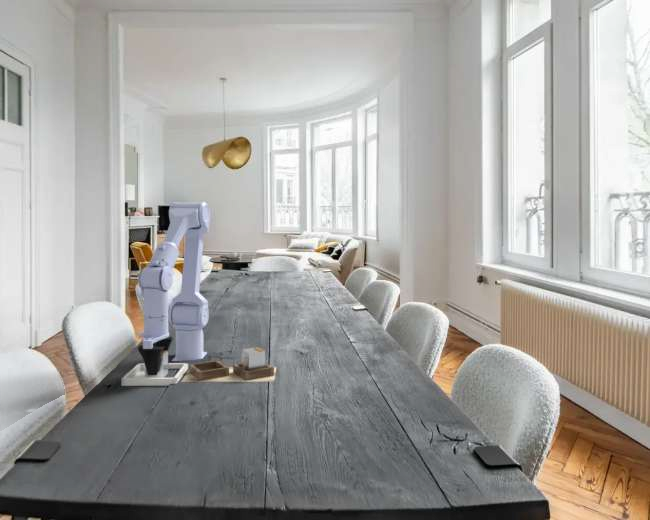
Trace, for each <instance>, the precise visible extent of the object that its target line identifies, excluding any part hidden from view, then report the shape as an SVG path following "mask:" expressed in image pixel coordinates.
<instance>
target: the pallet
mask: <svg viewBox="0 0 650 520" xmlns="http://www.w3.org/2000/svg"><path fill="white" fill-rule="evenodd" d="M276 373H277V366H272V365H270V364H268V363H267V362H265V368H262V369H256V370H250V371H246V370H245V369H243V368H242V362H241V363H233V364H232V366H227V364H224V363H223V362H221V361H220V360H217V359H216V360H211V361H202V362H198V363H197V362H196V363H191V364H189V363H188V370H187V373H186V374H185V375H184V377H183V378H182V380H181V382H180V383H246V382H247V383H249V382H250V383H252V382H253V383H254V382H255V383H259V382H260V383H261V382H262V383H266V382H267V383H270V382H271V383H273V382H274V383H275V379H276Z"/></svg>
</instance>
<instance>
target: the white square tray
mask: <svg viewBox="0 0 650 520" xmlns="http://www.w3.org/2000/svg"><path fill="white" fill-rule="evenodd" d="M168 370H178V371H177V373H176V374H175V375H174V376H173V377H164V378H145V363H142V362H138V364H136V365H135V366H134V367H132V369H130V370H129V371H128V372H127V373H126V374H125V375H124V376H122V378H121V379H120V380H121V386H122V387H123V386H125V387H129V386H130V387H133V386H146V387H147V386H148V387H149V386H150V387H151V386H152V387H154V386H159V387H160V386H170V387H171V385H177V384H178V382H179V381H180V380H181V378H182V377H183V376H184V374H185V373H186V372H187V371H188V370H189V362H186V363H185V362H181V363H180V362H179V363H177V362H172V363H171V362H168Z"/></svg>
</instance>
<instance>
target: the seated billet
mask: <svg viewBox="0 0 650 520" xmlns="http://www.w3.org/2000/svg"><path fill="white" fill-rule="evenodd" d="M241 363H242V368H243V369H245V370H246V371H250V370H256V369H262V368H265V363H266V350H264V349H262V348H261V347H257V346H256V347H250V348H249V347H248V348H242V349H241Z"/></svg>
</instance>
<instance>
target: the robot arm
mask: <svg viewBox="0 0 650 520" xmlns="http://www.w3.org/2000/svg"><path fill="white" fill-rule="evenodd" d="M168 218H169V226H168V227H167V228H168V229H167V231H166V234H165V238H164V241H163V242H160V243H158V244H157V245H156V247H155V250H154V252H153V254H152V257H151V258H150V261H148V265H147V266H145V267H143V268H141V269H140V271H139V274H138V278H137V285H138V287H139V290H140V297H141V298H142V299H143V300H142V302H143V303H142V304H143V305H142V306H143V307H142V308H143V315H142V316H143V332H140V333H138V338H143V340H142V345H139V346H138V349H137V351H138V352H139V354H140V355H141V358H142V359H143V362H144V363H145V367H146V370H147V374H148V375H157V373H158V369H159V361H160V356H161V353H162V351H163V350H166V351H168V352H169V350H170V347H171V344H172V342H173V340H174V337H173V336H170V332H169V324H170V325H171V326H173V327H172V328H173V329H175V356H174V358H172V360H171V362H185V361H187V362H188V361H193V360H194V361H195V360H199V359H200V360H201V359H204V357H205V356H206V355H207V354H208V352H207V351H204V331H203V328H204V327H205V326H206V325H207V324H208V322H209V318H210V312H209V301H208V300H207V299H206V298H205V297H204V296H203V294H201V293H200V285H201V275H202V274H201V273H202V262H203V250H204V239H205V238H204V237H205V235H206V234H208V233H209V231H210V225H211V224H210V222H211V211H210V207H209V205H208V203H207V202H205V201H201V202H195V201H193V202H192V201H191V202H190V201H189V202H184V201H182V202H181V201H180V202H178V201H173V202H172V203H171V204H170V205H169V209H168ZM183 237H185V243H184V254H183V264H182V276H181V277H182V278H181V288H180V293H178V294H177V295H175V296H174V297H173V298H172V299H171V303H170V304H171V305H170V308H169V290H170V289H171V287H172V285H173V279H174V278H173V277H174V273H175V272H174V267H175V265H176V262H177V260H178V257H179V255H180V251H179V249H178V247H179V245H180V243H181V241H182V240H183Z"/></svg>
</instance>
